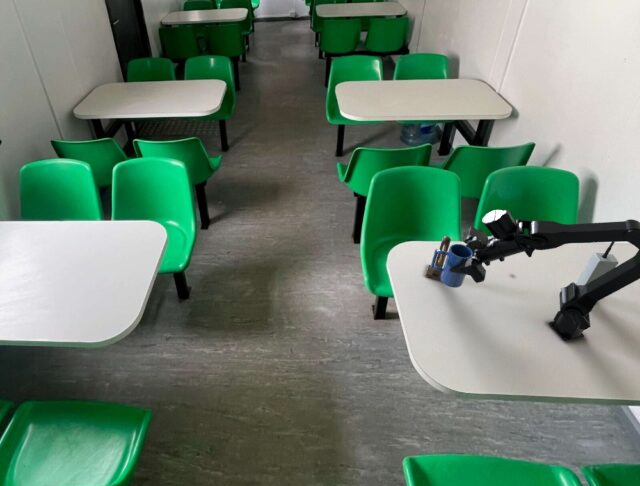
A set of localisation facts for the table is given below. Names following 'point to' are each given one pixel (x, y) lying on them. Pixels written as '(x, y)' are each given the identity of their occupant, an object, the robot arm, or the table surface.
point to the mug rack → (439, 260)
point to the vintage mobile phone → (598, 266)
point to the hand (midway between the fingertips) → (451, 263)
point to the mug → (452, 264)
